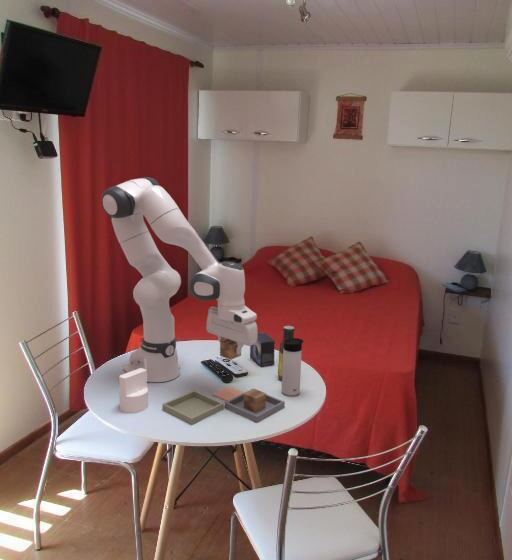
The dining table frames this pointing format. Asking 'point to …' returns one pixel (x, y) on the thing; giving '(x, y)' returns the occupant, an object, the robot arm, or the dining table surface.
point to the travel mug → (291, 367)
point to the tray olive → (193, 407)
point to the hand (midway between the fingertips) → (230, 351)
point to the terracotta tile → (228, 393)
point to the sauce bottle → (287, 335)
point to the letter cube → (228, 349)
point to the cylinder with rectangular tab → (133, 391)
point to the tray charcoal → (238, 408)
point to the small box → (263, 350)
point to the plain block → (254, 400)
